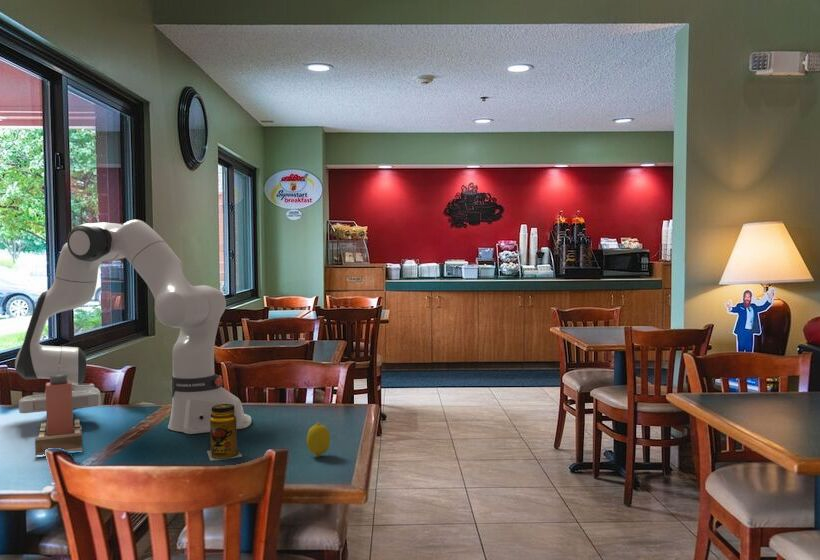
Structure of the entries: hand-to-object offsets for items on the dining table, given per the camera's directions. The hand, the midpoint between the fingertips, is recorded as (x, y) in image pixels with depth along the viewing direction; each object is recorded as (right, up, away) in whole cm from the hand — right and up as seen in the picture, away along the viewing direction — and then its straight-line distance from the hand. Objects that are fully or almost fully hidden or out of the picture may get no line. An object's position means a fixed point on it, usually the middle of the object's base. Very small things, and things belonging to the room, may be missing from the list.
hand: (60, 406), depth 183 cm
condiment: (+49, -8, -19) cm, 53 cm away
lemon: (+72, -8, -22) cm, 76 cm away
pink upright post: (+1, -6, -3) cm, 7 cm away
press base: (+4, -8, -8) cm, 12 cm away
